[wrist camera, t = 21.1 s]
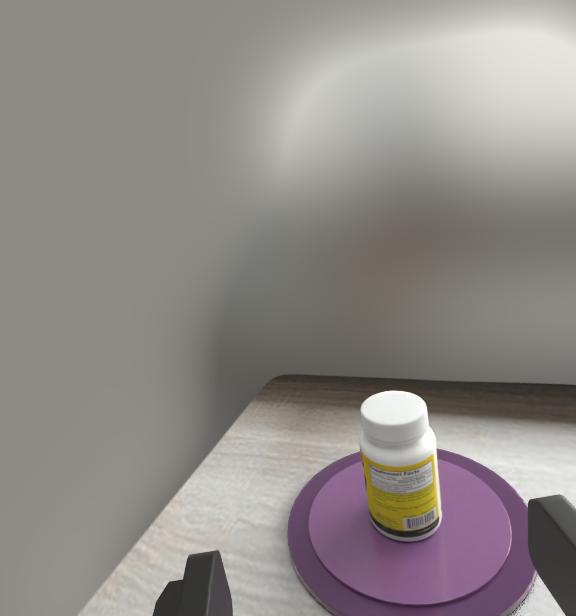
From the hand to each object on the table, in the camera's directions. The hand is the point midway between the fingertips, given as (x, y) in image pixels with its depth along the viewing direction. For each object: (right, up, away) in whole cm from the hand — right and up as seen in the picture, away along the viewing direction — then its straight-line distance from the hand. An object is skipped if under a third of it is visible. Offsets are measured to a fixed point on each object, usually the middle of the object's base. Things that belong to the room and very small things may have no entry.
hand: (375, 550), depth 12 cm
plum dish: (+6, -8, +19) cm, 22 cm away
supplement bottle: (+6, -8, +19) cm, 21 cm away
